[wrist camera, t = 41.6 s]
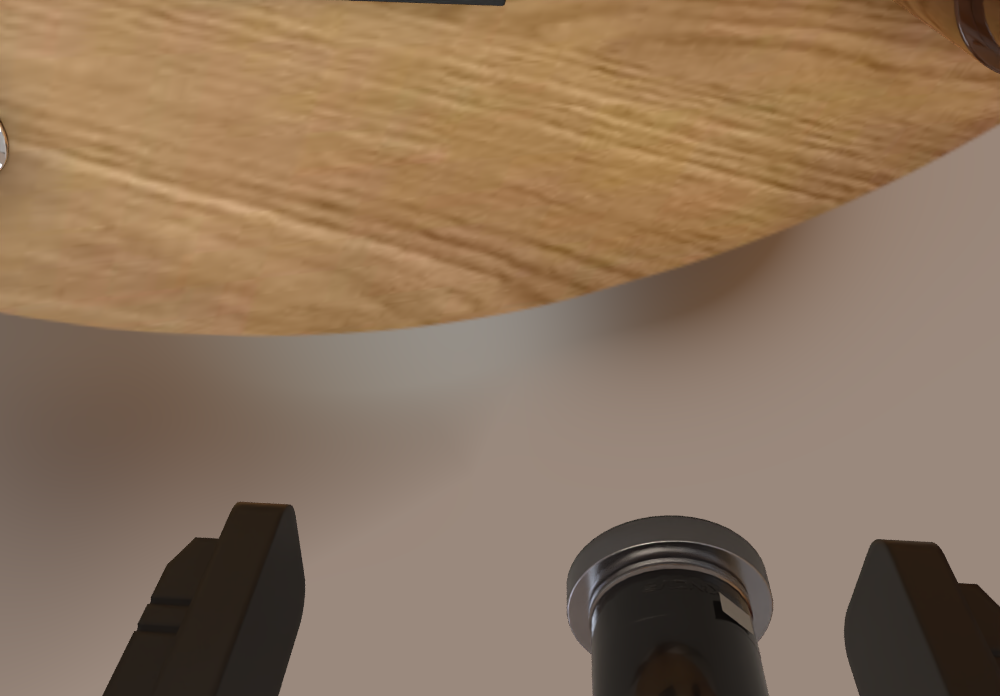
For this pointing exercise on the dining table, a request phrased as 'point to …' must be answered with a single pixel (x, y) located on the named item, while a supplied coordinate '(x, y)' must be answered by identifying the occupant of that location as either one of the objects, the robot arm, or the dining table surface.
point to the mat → (449, 1)
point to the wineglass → (3, 147)
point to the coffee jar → (963, 25)
